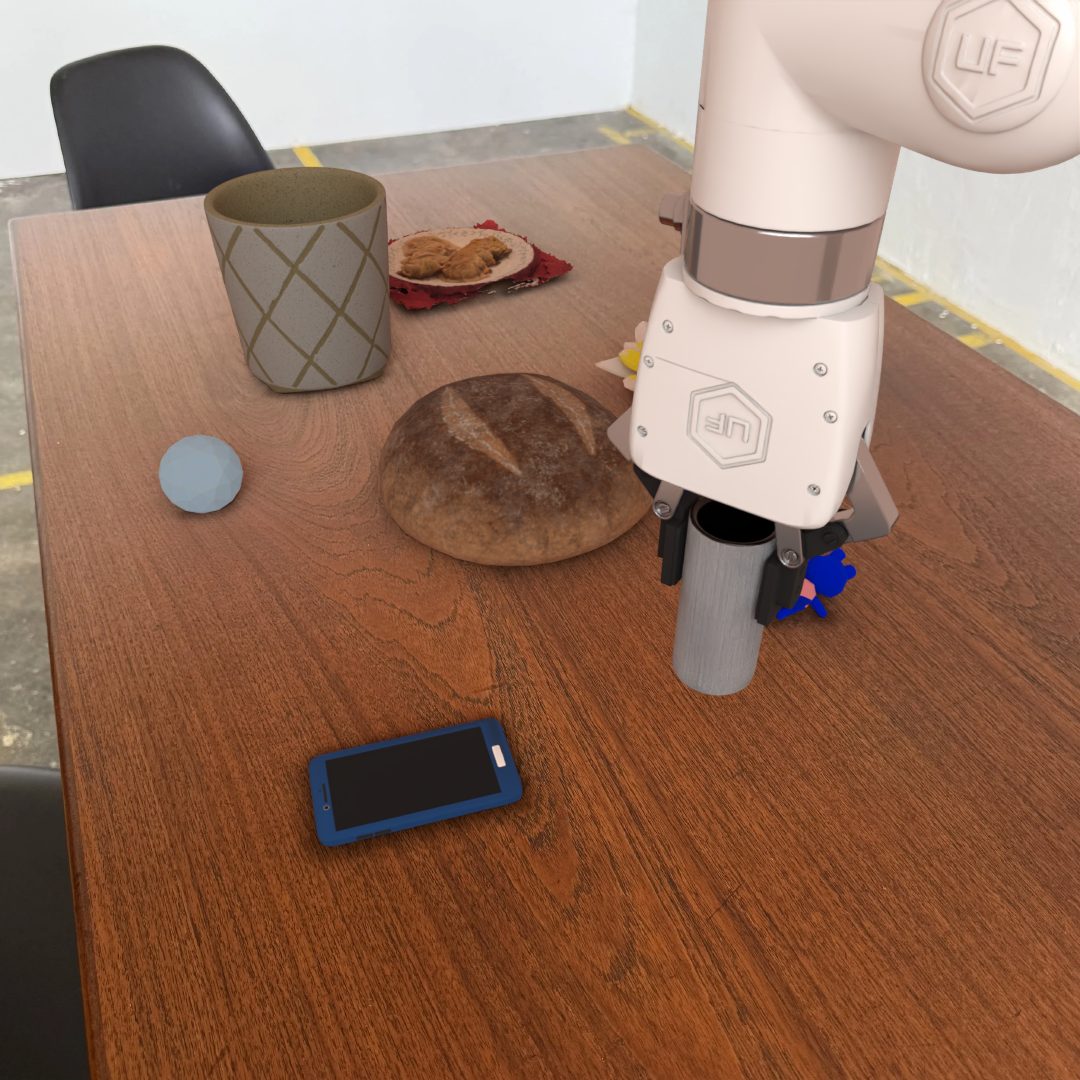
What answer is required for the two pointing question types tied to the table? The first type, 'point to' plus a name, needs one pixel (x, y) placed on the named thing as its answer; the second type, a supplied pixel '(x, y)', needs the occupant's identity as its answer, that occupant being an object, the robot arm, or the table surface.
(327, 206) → the planter
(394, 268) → the plate with food
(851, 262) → the robot arm
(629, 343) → the decorative flower
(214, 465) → the gemstone
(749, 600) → the planter
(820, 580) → the figurine
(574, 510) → the bread
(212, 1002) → the table surface
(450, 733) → the cell phone
